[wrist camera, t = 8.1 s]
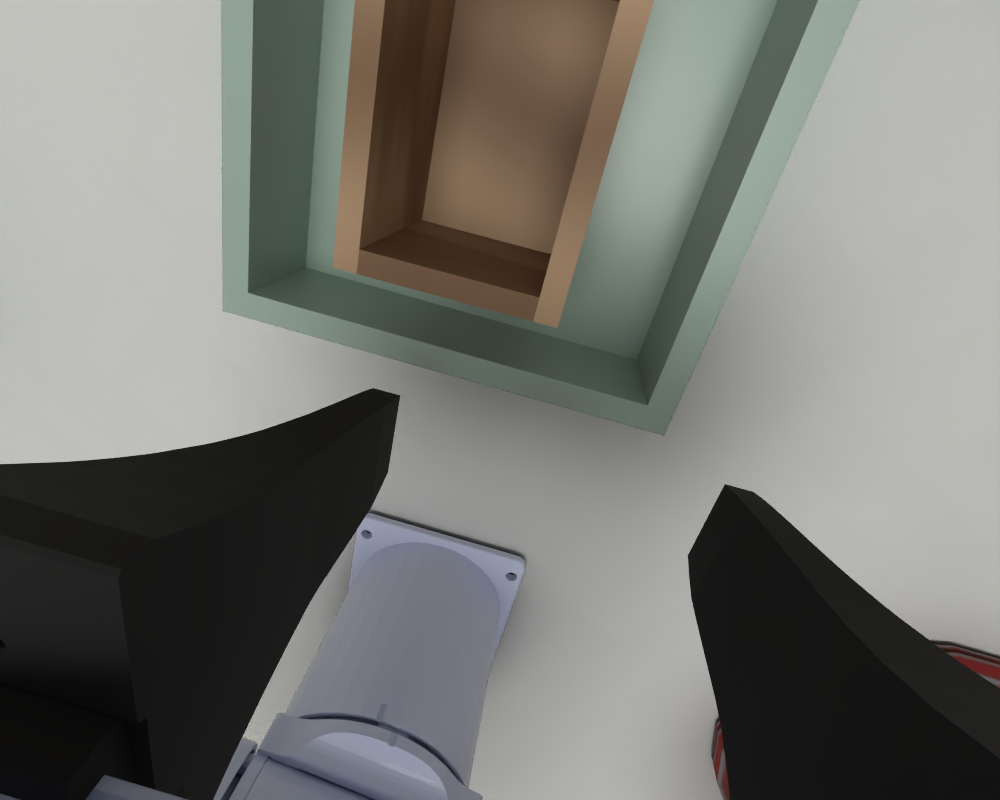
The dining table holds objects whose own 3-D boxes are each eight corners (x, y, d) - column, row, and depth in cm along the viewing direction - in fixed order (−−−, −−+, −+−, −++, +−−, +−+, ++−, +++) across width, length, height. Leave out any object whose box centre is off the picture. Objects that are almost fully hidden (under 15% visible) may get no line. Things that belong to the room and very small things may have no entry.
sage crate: (648, 376, 20) (663, 435, 16) (294, 277, 20) (222, 310, 16) (844, -102, 14) (951, -204, 10) (324, -236, 14) (219, -390, 10)
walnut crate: (565, 273, 18) (557, 328, 13) (407, 231, 18) (332, 267, 13) (648, -14, 14) (686, -109, 9) (449, -64, 14) (370, -185, 9)
